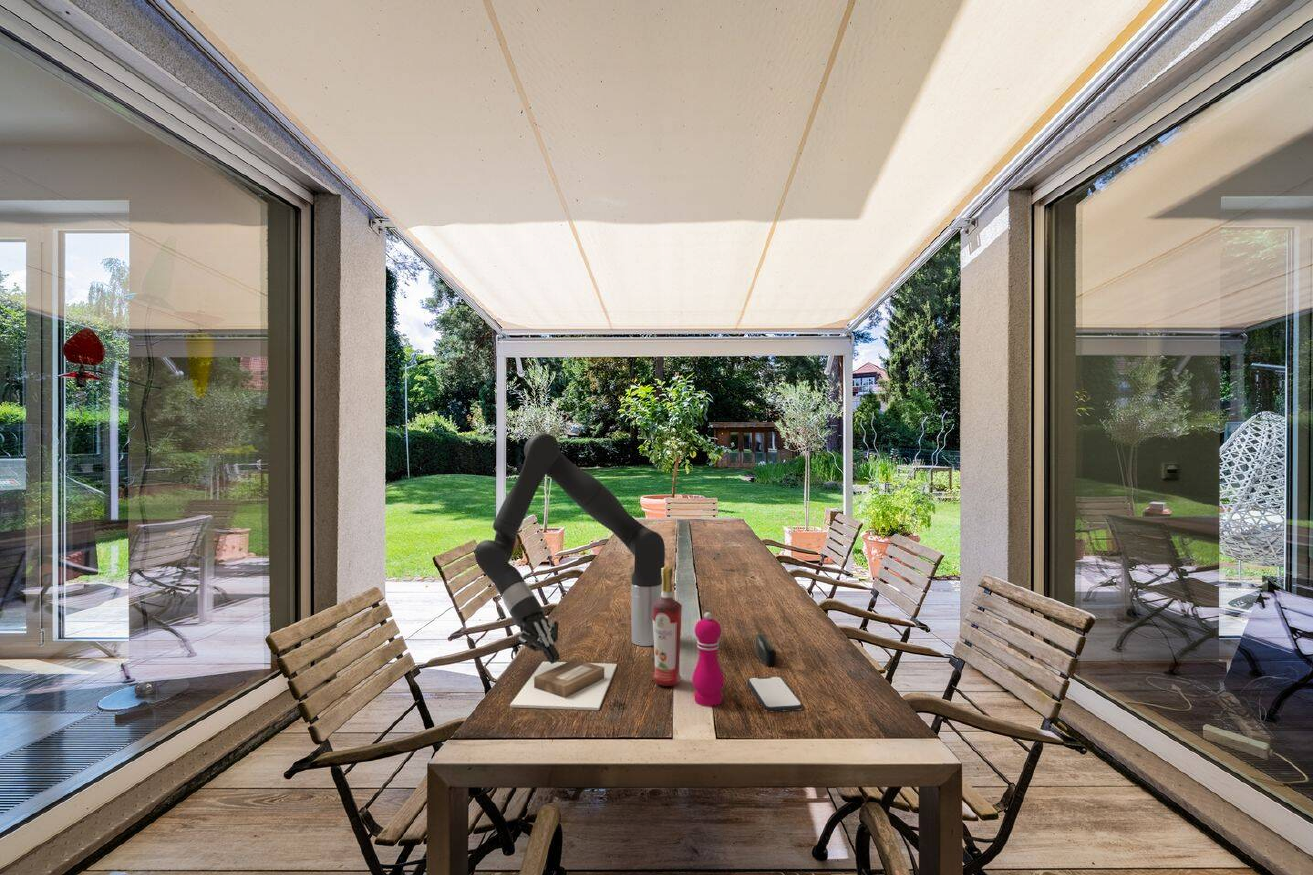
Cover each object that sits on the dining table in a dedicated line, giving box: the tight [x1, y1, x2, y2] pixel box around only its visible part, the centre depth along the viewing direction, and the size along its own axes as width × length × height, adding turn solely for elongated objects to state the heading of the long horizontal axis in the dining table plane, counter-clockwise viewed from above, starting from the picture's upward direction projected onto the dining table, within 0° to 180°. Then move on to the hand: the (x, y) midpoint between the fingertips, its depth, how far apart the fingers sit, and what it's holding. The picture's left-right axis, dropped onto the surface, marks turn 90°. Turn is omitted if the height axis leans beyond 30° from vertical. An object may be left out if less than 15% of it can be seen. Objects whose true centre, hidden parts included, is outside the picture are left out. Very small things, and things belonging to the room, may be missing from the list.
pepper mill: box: [692, 611, 725, 707], centre depth 132 cm, size 7×7×20 cm
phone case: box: [747, 676, 804, 712], centre depth 134 cm, size 9×2×16 cm
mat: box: [509, 661, 618, 711], centre depth 140 cm, size 20×26×1 cm
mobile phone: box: [754, 633, 777, 668], centre depth 159 cm, size 5×3×15 cm
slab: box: [534, 658, 604, 698], centre depth 140 cm, size 3×14×10 cm
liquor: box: [652, 566, 683, 687], centre depth 142 cm, size 7×7×28 cm
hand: (555, 660), depth 143 cm, fingers closed
